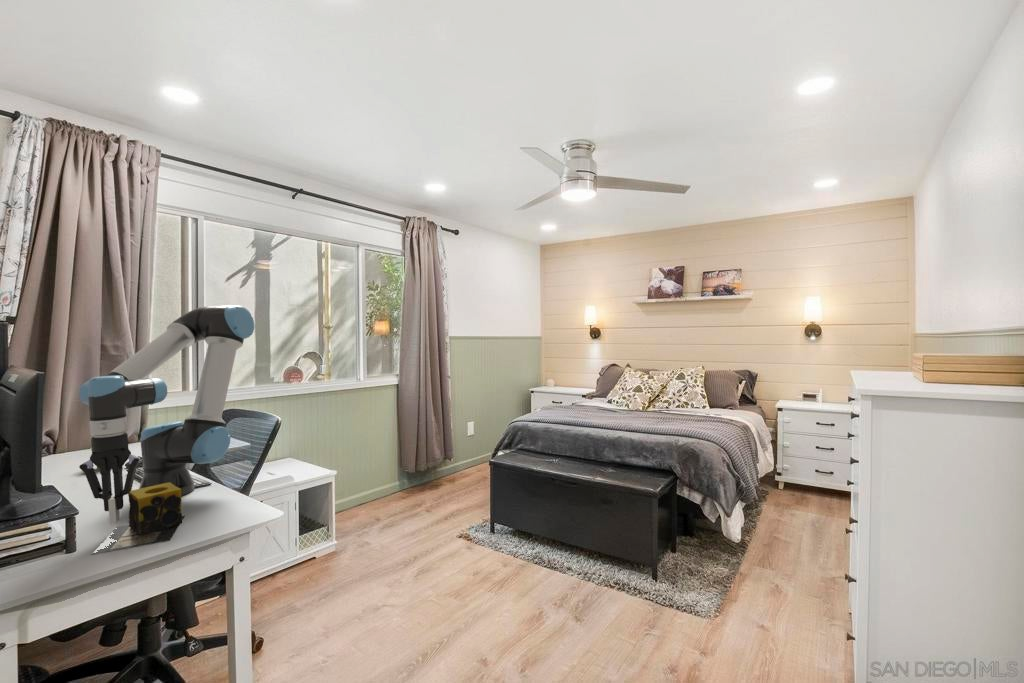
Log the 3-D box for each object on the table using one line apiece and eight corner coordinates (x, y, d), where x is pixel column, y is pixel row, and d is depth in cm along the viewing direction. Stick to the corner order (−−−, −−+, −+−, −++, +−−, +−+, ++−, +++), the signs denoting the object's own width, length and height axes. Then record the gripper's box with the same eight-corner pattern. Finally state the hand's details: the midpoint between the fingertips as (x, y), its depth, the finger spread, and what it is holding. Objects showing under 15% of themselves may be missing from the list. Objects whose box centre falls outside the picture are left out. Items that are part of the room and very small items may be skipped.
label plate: (116, 526, 134) (116, 526, 134) (185, 515, 140) (185, 515, 140) (90, 554, 117) (90, 554, 117) (169, 540, 124) (169, 540, 124)
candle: (128, 527, 133) (126, 491, 132) (172, 515, 141) (170, 481, 140) (138, 537, 126) (136, 499, 126) (183, 523, 134) (181, 488, 134)
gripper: (72, 440, 123) (78, 532, 124) (134, 434, 128) (139, 522, 129) (84, 434, 130) (90, 521, 131) (143, 428, 135) (148, 512, 136)
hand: (114, 521), depth 130 cm, fingers closed
